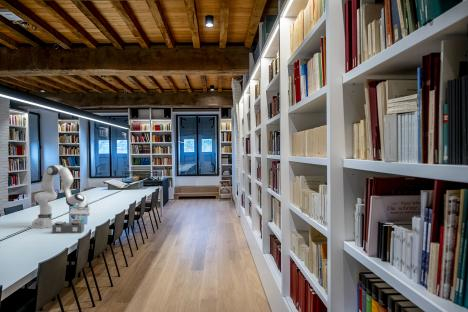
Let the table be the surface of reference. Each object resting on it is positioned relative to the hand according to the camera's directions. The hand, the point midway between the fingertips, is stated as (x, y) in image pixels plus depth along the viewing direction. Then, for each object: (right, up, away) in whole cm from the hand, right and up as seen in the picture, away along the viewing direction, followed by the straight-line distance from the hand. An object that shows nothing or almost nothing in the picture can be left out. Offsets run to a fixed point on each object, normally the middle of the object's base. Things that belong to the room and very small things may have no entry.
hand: (78, 218), depth 360 cm
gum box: (-16, -13, +34) cm, 39 cm away
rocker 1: (-15, -3, -8) cm, 17 cm away
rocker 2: (+1, -3, -6) cm, 7 cm away
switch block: (-7, -13, -7) cm, 16 cm away
